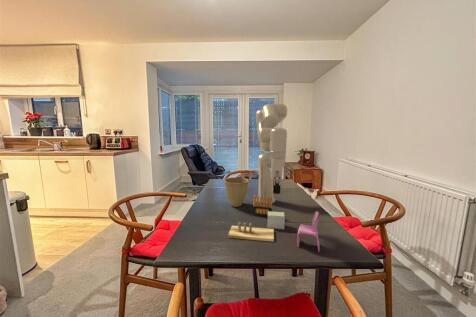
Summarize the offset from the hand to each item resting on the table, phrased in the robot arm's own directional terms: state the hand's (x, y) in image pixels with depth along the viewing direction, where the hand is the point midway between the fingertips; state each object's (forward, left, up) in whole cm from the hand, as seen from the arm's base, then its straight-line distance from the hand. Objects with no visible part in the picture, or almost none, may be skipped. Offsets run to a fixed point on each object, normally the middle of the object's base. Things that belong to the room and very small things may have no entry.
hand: (276, 190), depth 100 cm
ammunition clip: (-12, -7, -19) cm, 23 cm away
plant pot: (-25, -24, -19) cm, 40 cm away
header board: (+10, -11, -18) cm, 23 cm away
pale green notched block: (0, 0, -18) cm, 19 cm away
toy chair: (+15, +13, -19) cm, 27 cm away
